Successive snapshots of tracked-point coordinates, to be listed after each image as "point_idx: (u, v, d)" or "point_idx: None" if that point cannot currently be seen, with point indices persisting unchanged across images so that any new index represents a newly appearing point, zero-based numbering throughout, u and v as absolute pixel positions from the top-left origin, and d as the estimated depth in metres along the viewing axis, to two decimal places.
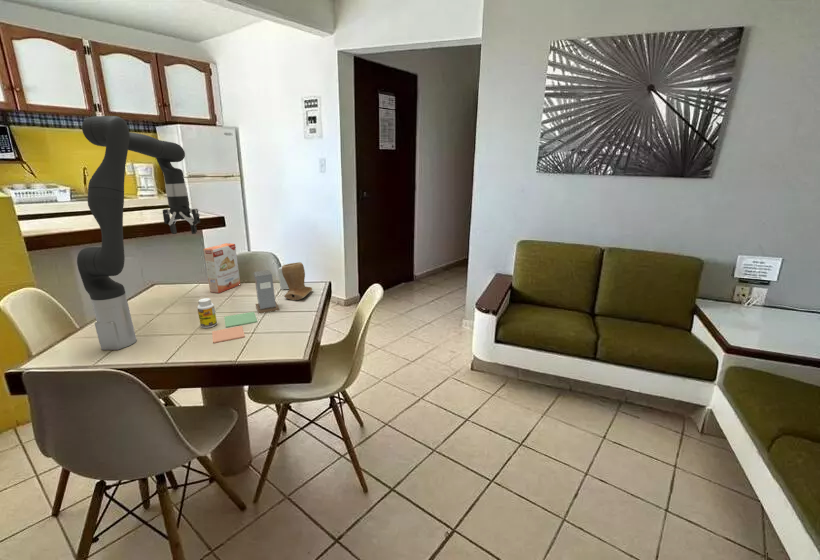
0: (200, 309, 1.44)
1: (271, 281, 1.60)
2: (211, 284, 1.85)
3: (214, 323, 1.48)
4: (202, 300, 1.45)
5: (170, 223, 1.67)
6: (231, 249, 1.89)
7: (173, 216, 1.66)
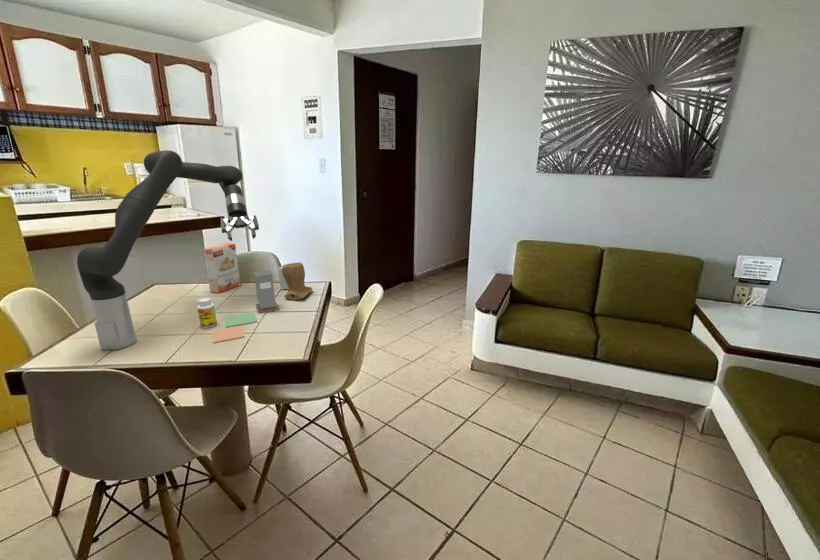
0: (200, 309, 1.44)
1: (271, 281, 1.60)
2: (211, 284, 1.85)
3: (214, 323, 1.48)
4: (202, 300, 1.45)
5: (228, 228, 1.61)
6: (231, 249, 1.89)
7: (233, 221, 1.63)
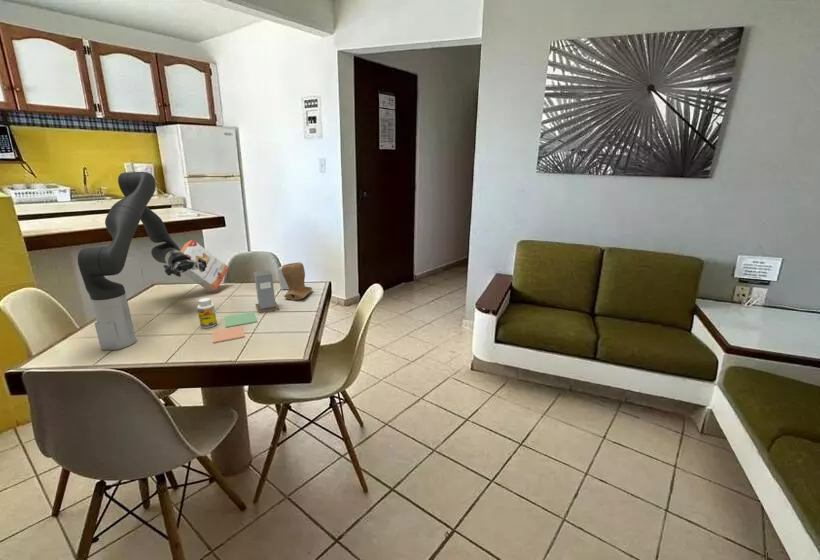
0: (200, 309, 1.44)
1: (271, 281, 1.60)
2: (205, 286, 1.84)
3: (214, 323, 1.48)
4: (202, 300, 1.45)
5: (174, 268, 1.52)
6: (193, 247, 1.80)
7: (178, 263, 1.55)
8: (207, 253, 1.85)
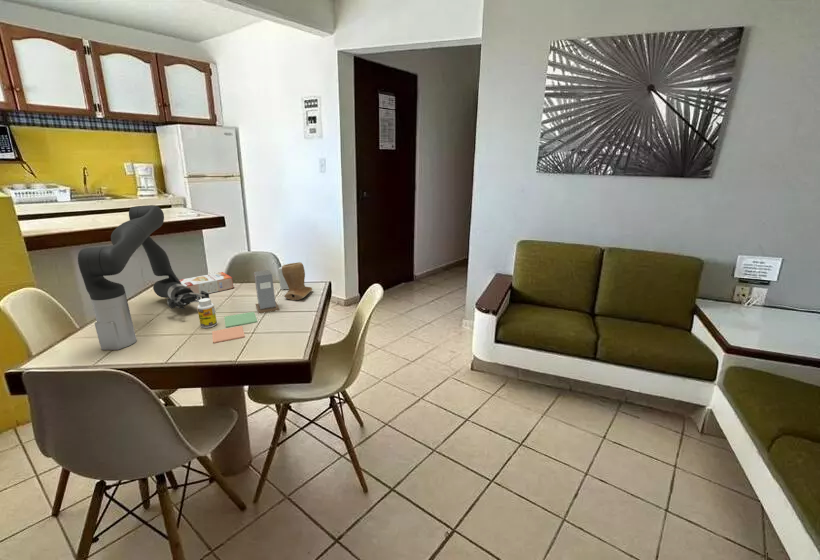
0: (200, 309, 1.44)
1: (271, 281, 1.60)
2: (225, 287, 1.89)
3: (214, 323, 1.48)
4: (202, 300, 1.45)
5: (177, 300, 1.54)
6: (183, 280, 1.86)
7: (181, 296, 1.57)
8: None
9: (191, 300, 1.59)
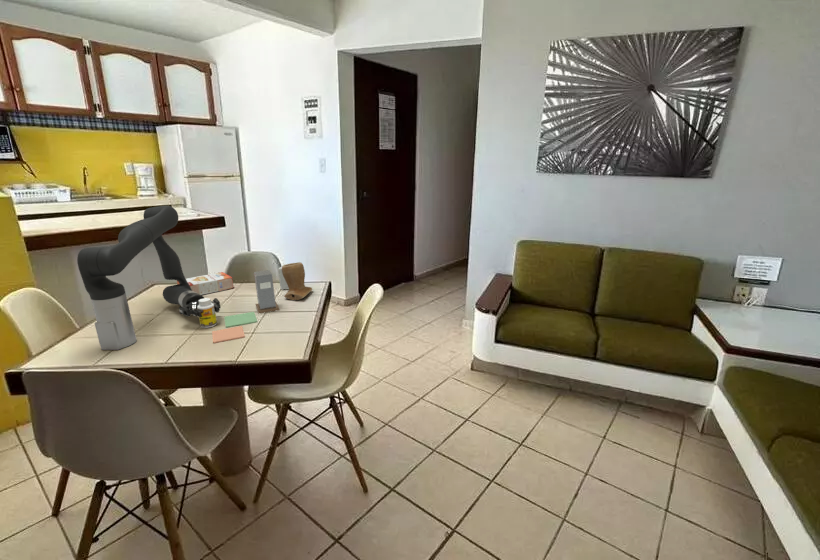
0: (200, 309, 1.44)
1: (271, 281, 1.60)
2: (225, 286, 1.89)
3: (214, 323, 1.48)
4: (202, 300, 1.45)
5: (193, 308, 1.46)
6: None
7: (194, 303, 1.49)
8: None
9: None
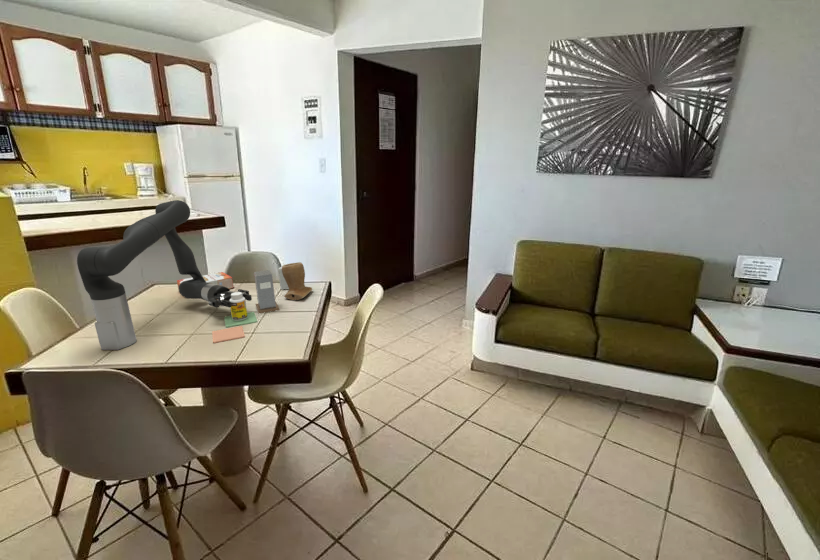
0: (234, 302, 1.49)
1: (271, 281, 1.60)
2: (225, 286, 1.89)
3: (246, 316, 1.53)
4: (234, 294, 1.50)
5: (221, 299, 1.49)
6: (183, 280, 1.86)
7: (222, 295, 1.52)
8: None
9: None
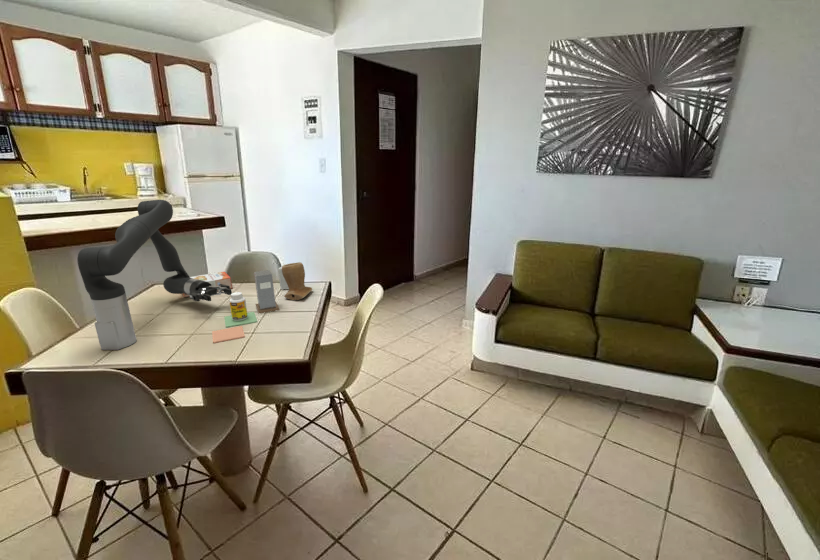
0: (234, 302, 1.49)
1: (271, 281, 1.60)
2: None
3: (246, 316, 1.53)
4: (234, 294, 1.50)
5: (202, 293, 1.55)
6: None
7: (203, 289, 1.59)
8: (198, 276, 1.93)
9: (213, 293, 1.61)
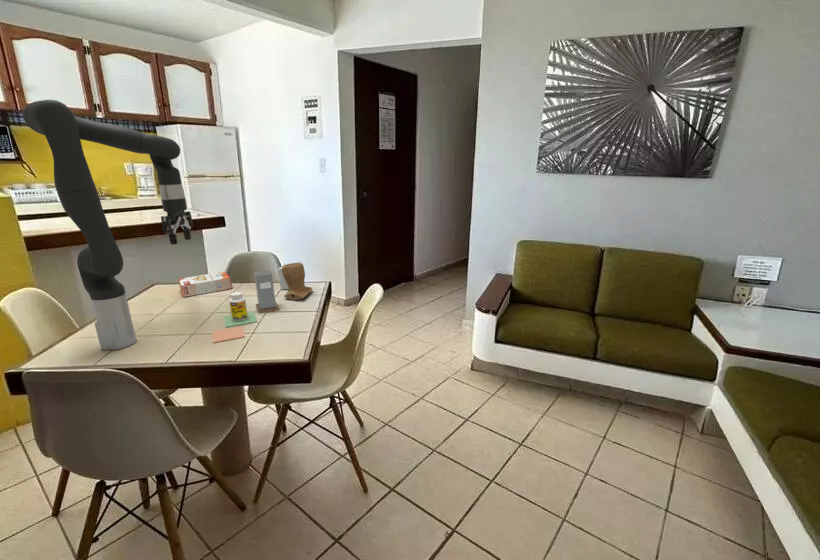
0: (234, 302, 1.49)
1: (271, 281, 1.60)
2: (223, 287, 1.89)
3: (246, 316, 1.53)
4: (234, 294, 1.50)
5: None
6: (184, 279, 1.88)
7: None
8: (198, 276, 1.93)
9: None
